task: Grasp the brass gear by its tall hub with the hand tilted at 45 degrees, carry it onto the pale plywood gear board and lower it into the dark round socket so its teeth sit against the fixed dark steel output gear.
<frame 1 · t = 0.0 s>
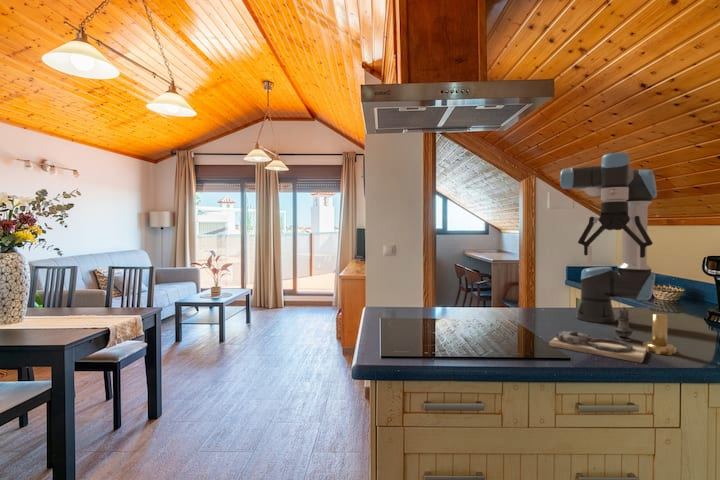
hand: (613, 266, 128), 28 cm above the counter, tool pointing down, fingers open, 13 cm apart
stone chess piece: (623, 339, 143), on the counter
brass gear: (659, 350, 129), on the counter
gear board: (596, 348, 131), on the counter
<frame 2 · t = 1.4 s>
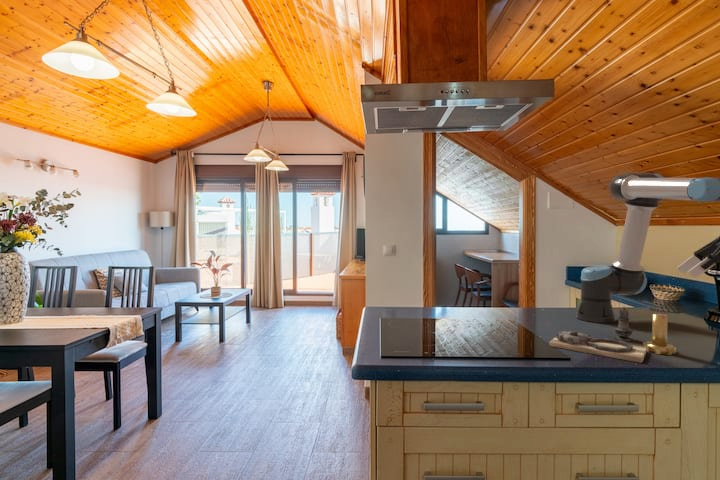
hand: (685, 273, 128), 26 cm above the counter, tool tilted 45°, fingers open, 13 cm apart
nothing on the counter moved.
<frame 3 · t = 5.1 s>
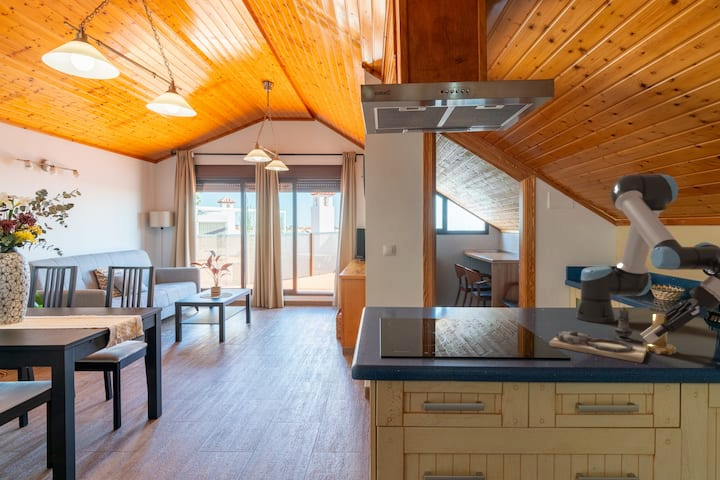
hand: (645, 339, 131), 3 cm above the counter, tool tilted 45°, fingers closed on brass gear, 4 cm apart
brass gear: (659, 350, 129), on the counter, touching gripper
everything else where it was.
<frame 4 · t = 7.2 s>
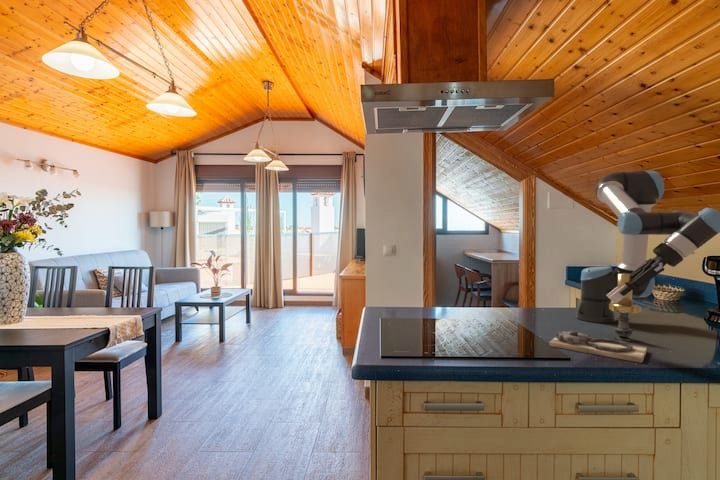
hand: (610, 299, 129), 17 cm above the counter, tool tilted 45°, fingers closed on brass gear, 4 cm apart
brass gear: (624, 310, 128), point 14 cm above the counter, touching gripper
everything else where it was.
when the fingers open (6 cm above the counter, at t = 9.4 s): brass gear drops 1 cm, resting on gear board.
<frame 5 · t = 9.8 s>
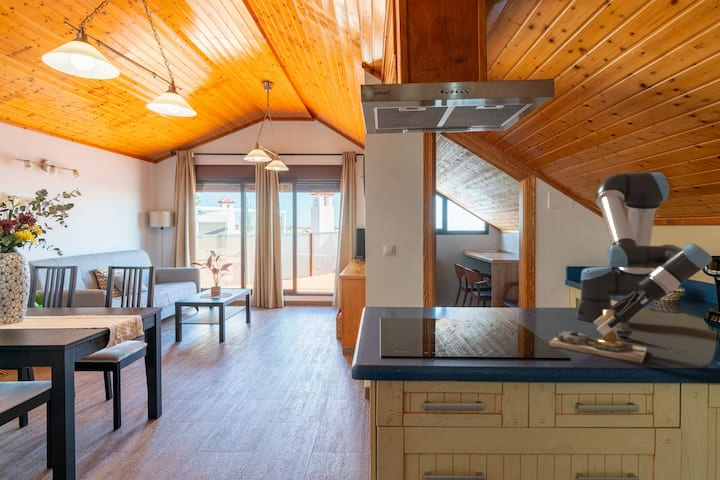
hand: (598, 328, 130), 7 cm above the counter, tool tilted 45°, fingers open, 9 cm apart
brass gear: (609, 346, 129), point 2 cm above the counter, touching gear board
everything else where it was.
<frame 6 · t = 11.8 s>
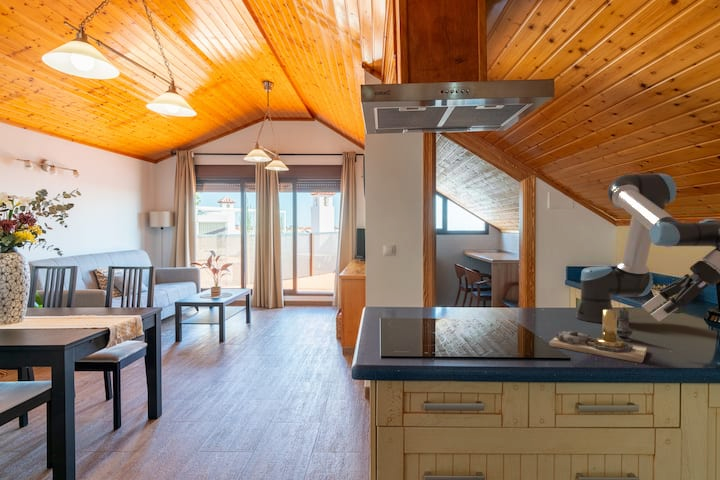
hand: (649, 313, 124), 13 cm above the counter, tool tilted 45°, fingers open, 13 cm apart
nothing on the counter moved.
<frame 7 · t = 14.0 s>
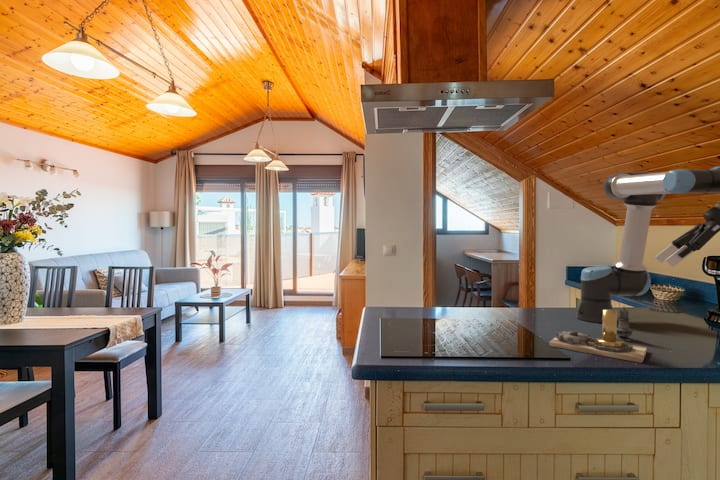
hand: (663, 261, 126), 30 cm above the counter, tool tilted 45°, fingers open, 13 cm apart
nothing on the counter moved.
at the end: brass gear 0.1 cm from the target spot on the gear board, point 1.5 cm above the gear board's base; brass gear tilted 0°; the gripper is holding nothing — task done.
